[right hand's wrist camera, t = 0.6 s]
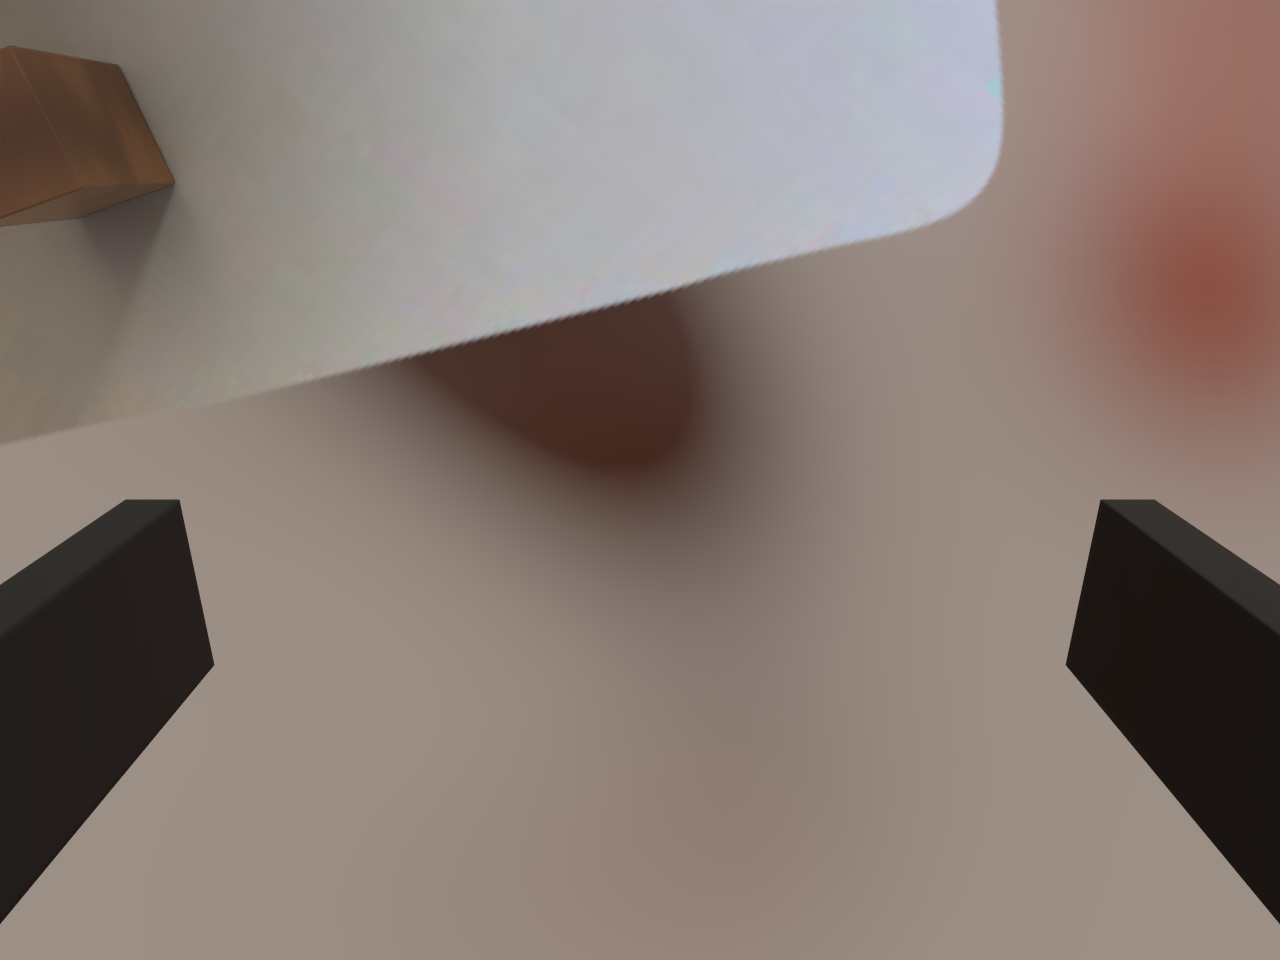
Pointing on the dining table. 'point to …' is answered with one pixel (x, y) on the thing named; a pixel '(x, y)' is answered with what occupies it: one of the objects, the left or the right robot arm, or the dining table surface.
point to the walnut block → (70, 138)
